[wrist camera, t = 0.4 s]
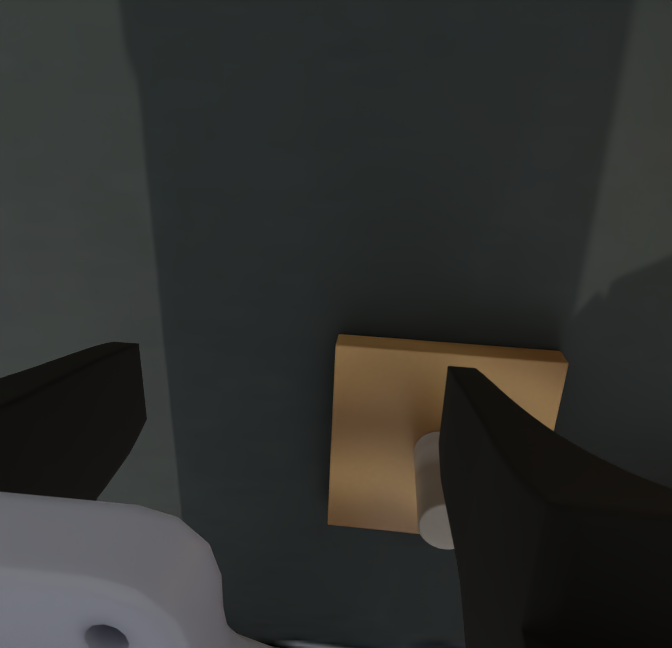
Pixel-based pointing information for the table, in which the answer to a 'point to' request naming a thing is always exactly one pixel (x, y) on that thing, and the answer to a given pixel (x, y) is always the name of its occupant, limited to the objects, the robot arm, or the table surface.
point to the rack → (414, 424)
